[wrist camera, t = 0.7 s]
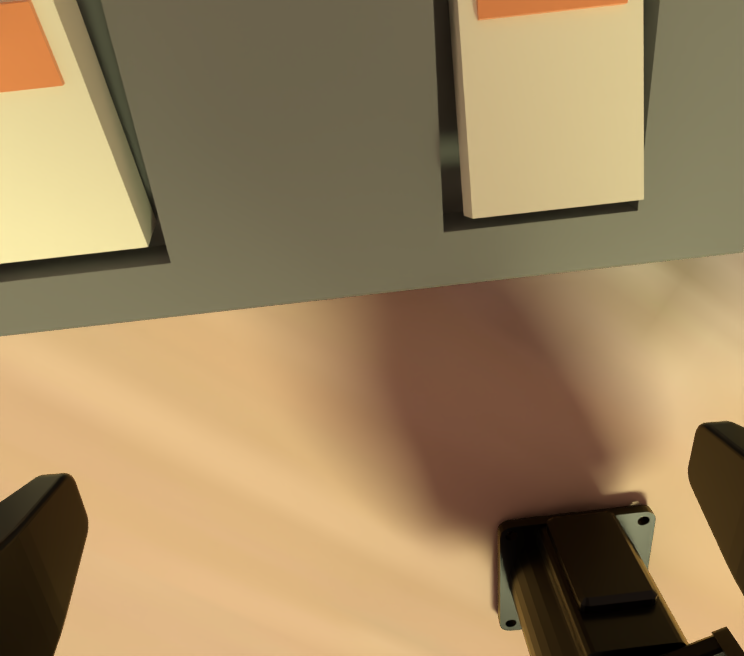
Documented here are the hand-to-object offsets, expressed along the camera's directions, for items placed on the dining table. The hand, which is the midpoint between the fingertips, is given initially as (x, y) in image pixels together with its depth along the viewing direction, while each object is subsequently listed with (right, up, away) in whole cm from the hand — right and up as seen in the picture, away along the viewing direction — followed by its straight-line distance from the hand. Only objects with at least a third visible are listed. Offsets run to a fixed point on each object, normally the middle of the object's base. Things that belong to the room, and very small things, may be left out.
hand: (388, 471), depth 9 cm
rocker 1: (-8, +6, +5) cm, 12 cm away
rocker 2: (+4, +8, +5) cm, 10 cm away
